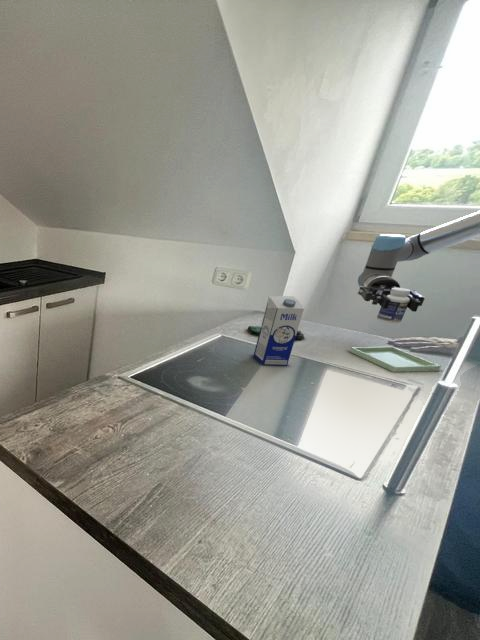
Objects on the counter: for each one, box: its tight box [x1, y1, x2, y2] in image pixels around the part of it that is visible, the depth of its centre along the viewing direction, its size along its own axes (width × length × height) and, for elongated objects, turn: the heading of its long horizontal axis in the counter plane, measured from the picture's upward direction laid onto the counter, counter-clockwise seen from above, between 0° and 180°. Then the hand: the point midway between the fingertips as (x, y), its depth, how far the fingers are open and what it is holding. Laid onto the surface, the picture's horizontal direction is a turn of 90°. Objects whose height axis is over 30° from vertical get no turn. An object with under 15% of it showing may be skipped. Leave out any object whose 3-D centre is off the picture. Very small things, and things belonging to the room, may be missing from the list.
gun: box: [247, 325, 305, 341], centre depth 141 cm, size 16×1×10 cm
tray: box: [349, 345, 442, 373], centre depth 119 cm, size 15×13×2 cm
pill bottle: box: [376, 287, 412, 325], centre depth 114 cm, size 5×5×10 cm
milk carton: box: [253, 295, 305, 366], centre depth 117 cm, size 7×7×20 cm
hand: (401, 305), depth 110 cm, fingers closed on pill bottle, 5 cm apart
